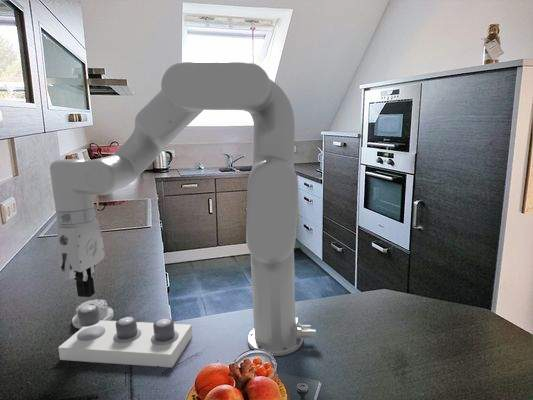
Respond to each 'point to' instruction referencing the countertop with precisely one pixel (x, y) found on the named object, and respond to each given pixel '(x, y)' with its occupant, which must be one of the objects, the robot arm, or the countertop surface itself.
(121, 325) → the knob middle
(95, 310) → the knob far
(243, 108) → the robot arm
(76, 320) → the mechanical component
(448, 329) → the countertop surface
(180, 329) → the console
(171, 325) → the knob near
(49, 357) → the countertop surface
